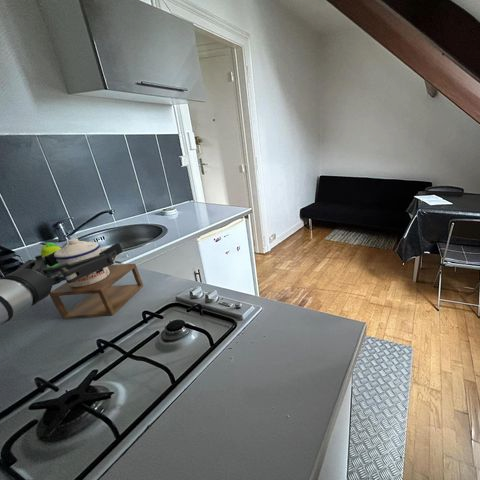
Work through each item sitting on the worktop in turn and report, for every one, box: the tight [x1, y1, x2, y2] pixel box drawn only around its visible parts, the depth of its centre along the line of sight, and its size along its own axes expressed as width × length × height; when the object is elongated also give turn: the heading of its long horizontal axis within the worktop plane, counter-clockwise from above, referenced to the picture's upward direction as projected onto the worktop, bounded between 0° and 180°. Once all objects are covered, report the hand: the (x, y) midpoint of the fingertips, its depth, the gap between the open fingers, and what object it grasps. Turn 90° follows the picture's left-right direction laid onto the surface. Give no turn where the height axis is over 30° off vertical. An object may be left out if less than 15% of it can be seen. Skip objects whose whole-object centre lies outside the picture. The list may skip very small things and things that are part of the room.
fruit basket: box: [33, 242, 62, 267], centre depth 93 cm, size 11×9×11 cm
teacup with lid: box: [54, 237, 118, 287], centre depth 69 cm, size 12×9×12 cm
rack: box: [48, 263, 144, 320], centre depth 73 cm, size 13×14×8 cm
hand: (94, 249), depth 72 cm, fingers open, 13 cm apart
